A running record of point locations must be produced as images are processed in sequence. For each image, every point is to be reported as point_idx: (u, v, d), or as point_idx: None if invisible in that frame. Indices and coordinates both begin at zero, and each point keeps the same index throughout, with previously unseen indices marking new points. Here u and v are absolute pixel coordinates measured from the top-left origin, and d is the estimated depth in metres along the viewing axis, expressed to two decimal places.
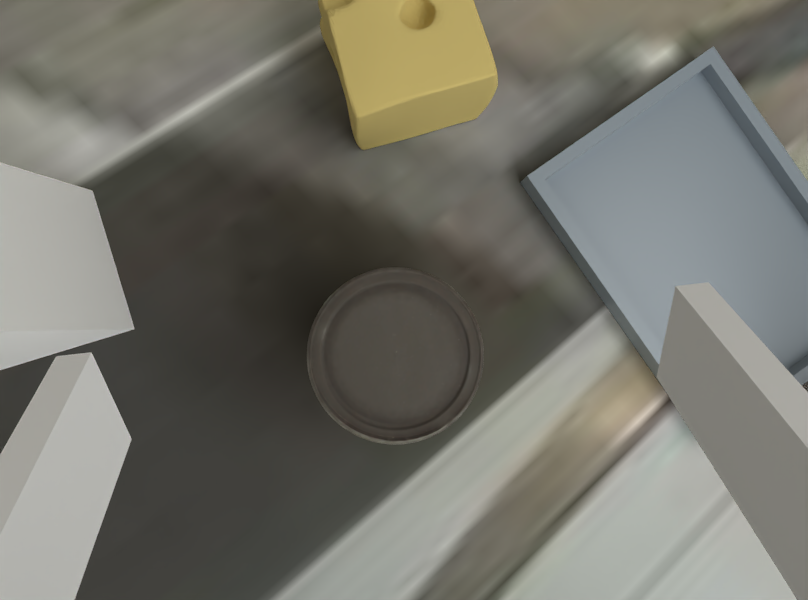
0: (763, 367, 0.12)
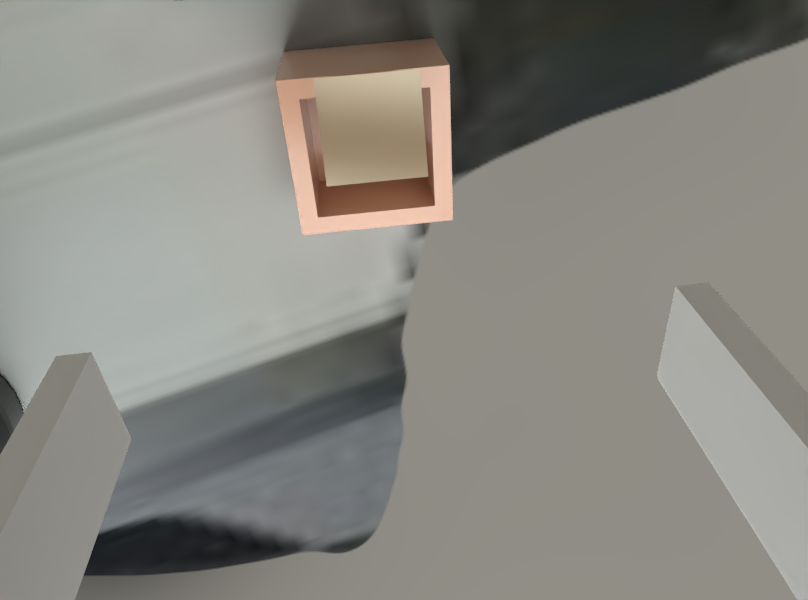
0: (763, 367, 0.12)
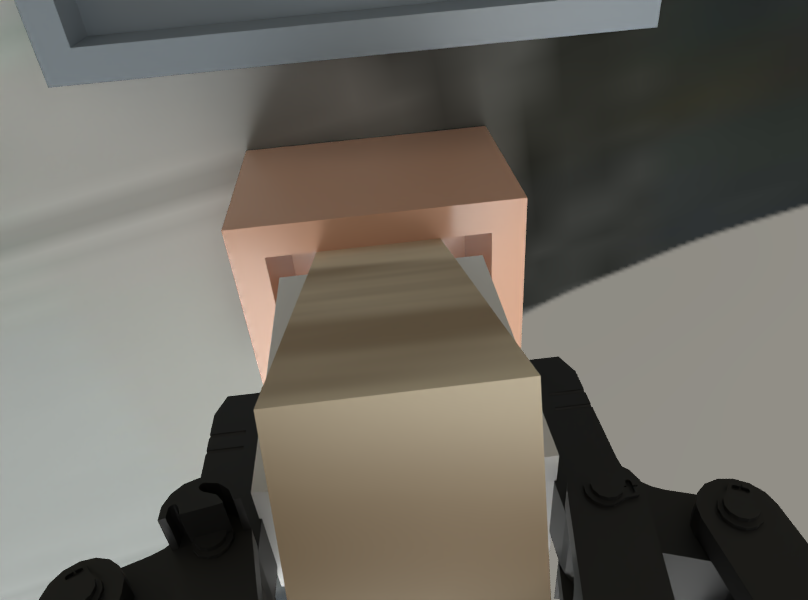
0: None
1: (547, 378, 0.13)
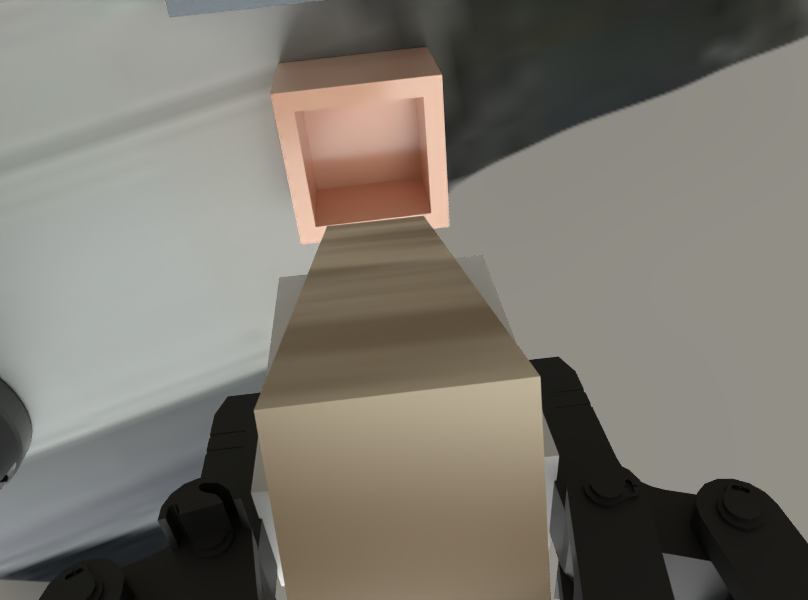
0: None
1: (547, 378, 0.13)
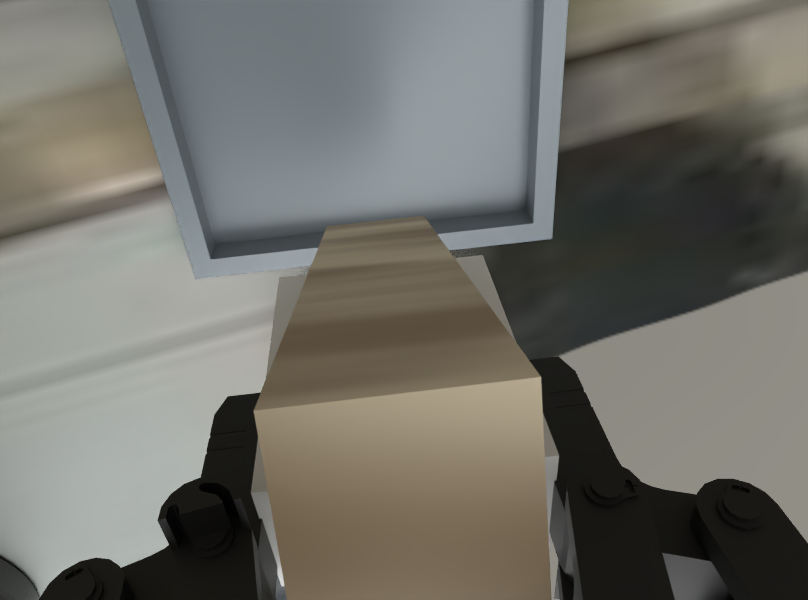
0: None
1: (547, 378, 0.13)
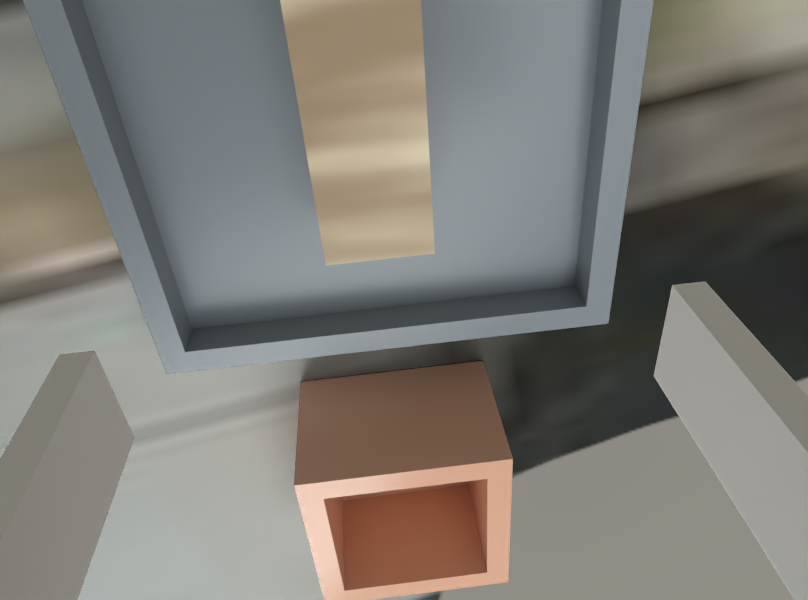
0: (759, 366, 0.12)
1: None
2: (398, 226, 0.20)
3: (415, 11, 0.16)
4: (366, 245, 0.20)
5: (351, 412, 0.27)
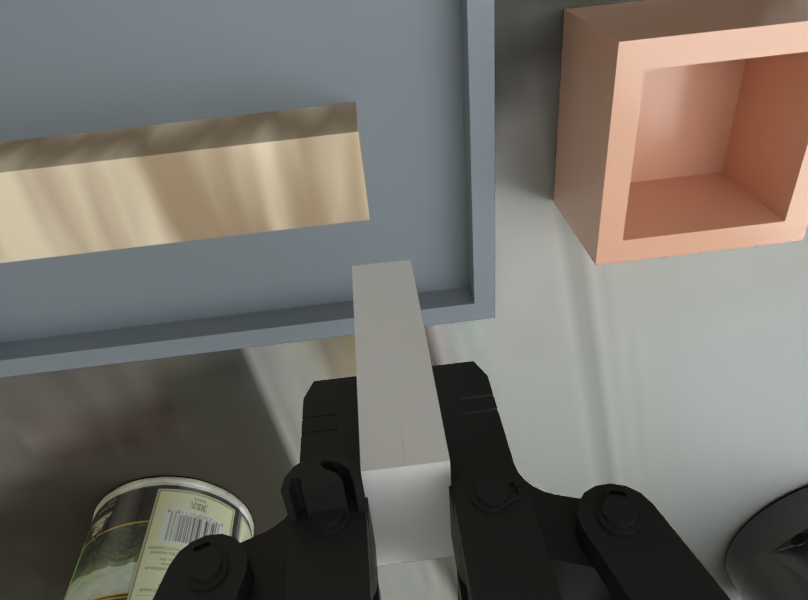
0: (406, 329, 0.13)
1: (458, 383, 0.13)
2: (331, 163, 0.24)
3: (156, 158, 0.23)
4: (350, 188, 0.24)
5: (572, 176, 0.27)
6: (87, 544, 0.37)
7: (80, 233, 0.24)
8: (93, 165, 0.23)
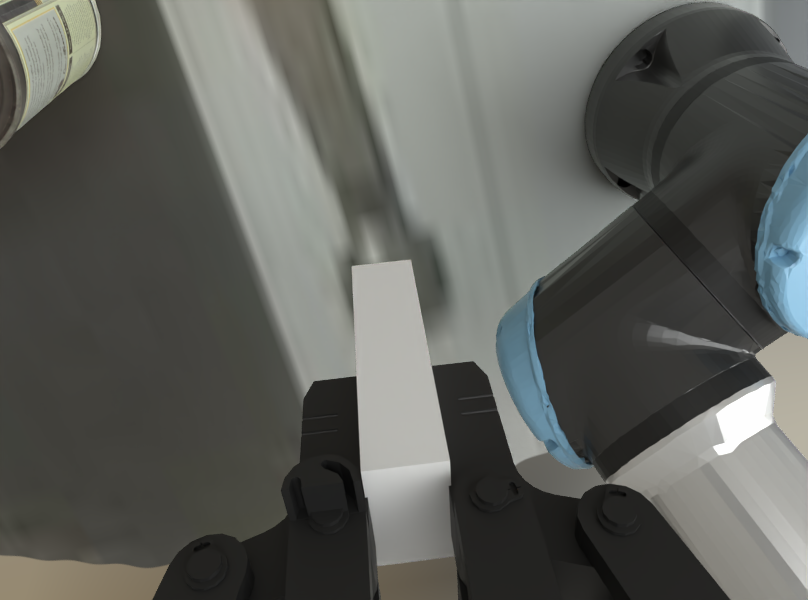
0: (406, 329, 0.13)
1: (459, 383, 0.13)
2: None
3: None
4: None
5: None
6: None
7: None
8: None
